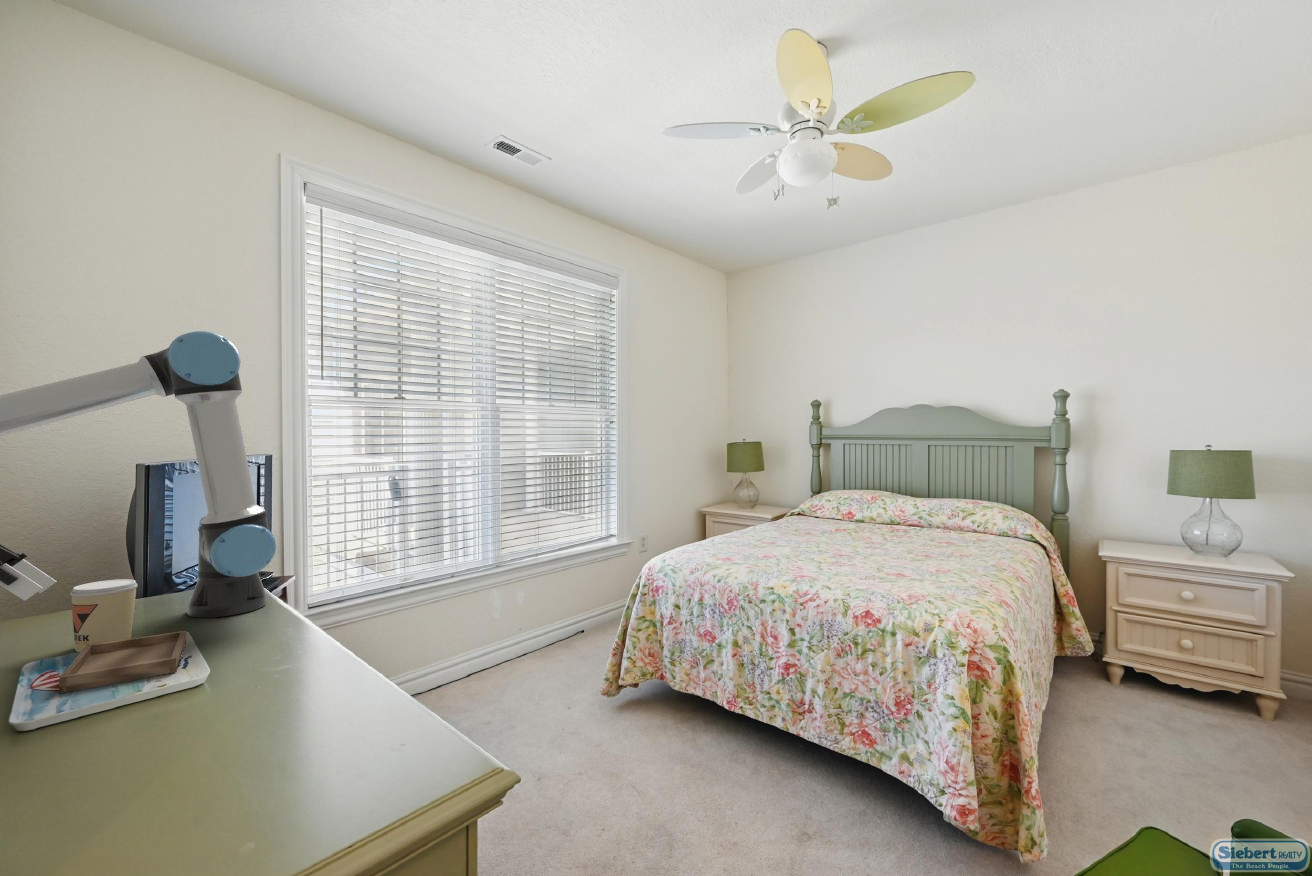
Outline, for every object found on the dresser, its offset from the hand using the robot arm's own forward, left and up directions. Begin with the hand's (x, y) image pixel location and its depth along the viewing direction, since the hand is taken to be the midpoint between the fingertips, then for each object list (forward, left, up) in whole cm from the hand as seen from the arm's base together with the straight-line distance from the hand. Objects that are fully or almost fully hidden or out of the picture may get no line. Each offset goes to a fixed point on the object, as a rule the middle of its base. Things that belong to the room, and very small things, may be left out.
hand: (42, 590), depth 100 cm
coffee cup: (-7, -5, -13) cm, 16 cm away
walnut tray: (-13, +12, -13) cm, 22 cm away
